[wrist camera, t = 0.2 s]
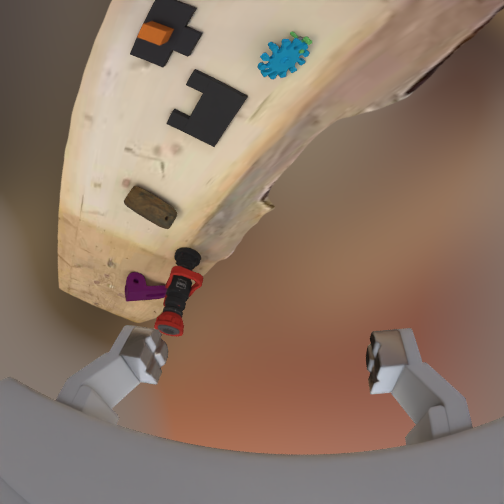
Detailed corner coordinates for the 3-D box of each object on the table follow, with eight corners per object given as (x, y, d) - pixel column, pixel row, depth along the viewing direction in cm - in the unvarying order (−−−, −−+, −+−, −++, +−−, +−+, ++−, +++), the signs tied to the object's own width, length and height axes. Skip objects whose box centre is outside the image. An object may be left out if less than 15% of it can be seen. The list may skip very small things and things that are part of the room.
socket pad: (195, 69, 46) (193, 71, 45) (247, 95, 50) (246, 98, 50) (168, 120, 56) (166, 123, 55) (215, 143, 60) (214, 147, 59)
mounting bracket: (167, 270, 114) (125, 272, 104) (171, 289, 110) (128, 292, 101) (163, 280, 121) (123, 282, 111) (166, 298, 117) (126, 301, 107)
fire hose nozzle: (145, 337, 86) (160, 314, 68) (164, 269, 103) (184, 232, 85) (172, 346, 89) (195, 326, 71) (188, 278, 106) (213, 244, 88)
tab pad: (160, -6, 33) (148, -5, 29) (214, 15, 37) (206, 17, 33) (132, 52, 42) (120, 59, 39) (180, 72, 47) (171, 80, 43)
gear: (275, 88, 47) (251, 67, 38) (260, 69, 48) (235, 47, 39) (322, 57, 42) (306, 30, 33) (304, 39, 42) (286, 12, 34)
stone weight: (182, 204, 76) (175, 221, 72) (172, 218, 81) (166, 235, 77) (135, 179, 70) (125, 195, 66) (128, 195, 75) (118, 211, 70)
